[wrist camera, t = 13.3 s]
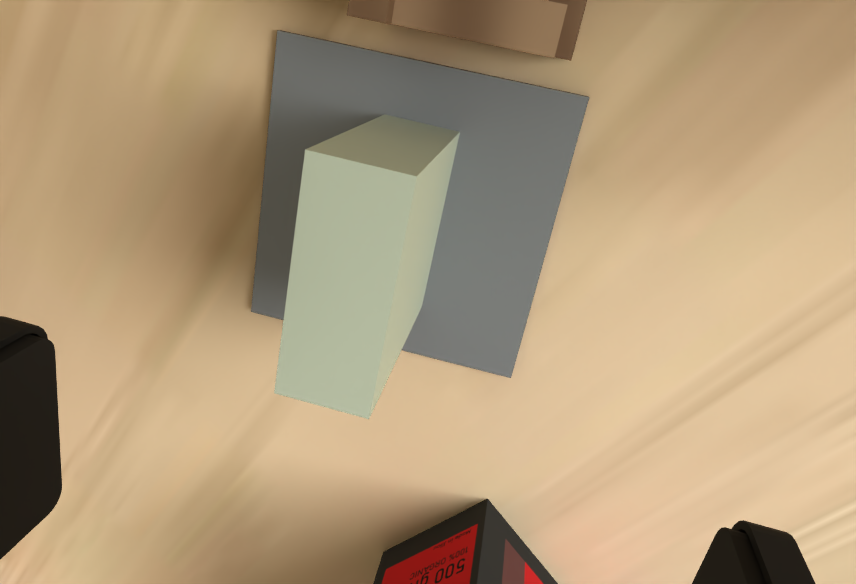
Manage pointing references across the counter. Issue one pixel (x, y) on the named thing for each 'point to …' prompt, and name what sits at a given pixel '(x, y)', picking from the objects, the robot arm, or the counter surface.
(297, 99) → the mat
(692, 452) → the counter surface
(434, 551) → the cleaning product box
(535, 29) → the rack
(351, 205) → the sage green brick
